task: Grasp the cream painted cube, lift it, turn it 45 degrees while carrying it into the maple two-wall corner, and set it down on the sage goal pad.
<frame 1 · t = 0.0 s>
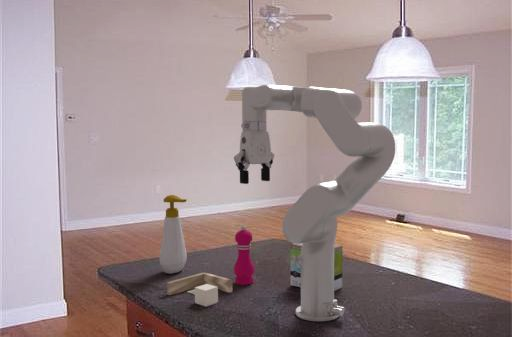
hand: (255, 182, 168), 37 cm above the kitchen island, tool pointing down, fingers open, 9 cm apart
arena: (201, 293, 176), on the kitchen island
cube: (206, 303, 167), on the kitchen island
tea box: (316, 287, 181), on the kitchen island
pepper mill: (244, 283, 188), on the kitchen island
soap bottle: (175, 272, 202), on the kitchen island
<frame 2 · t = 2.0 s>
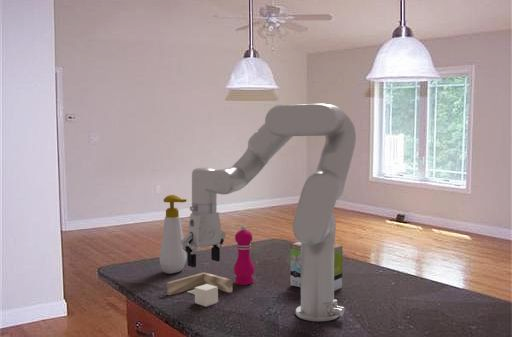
hand: (203, 263, 166), 12 cm above the kitchen island, tool pointing down, fingers open, 9 cm apart
nothing on the kitchen island moved.
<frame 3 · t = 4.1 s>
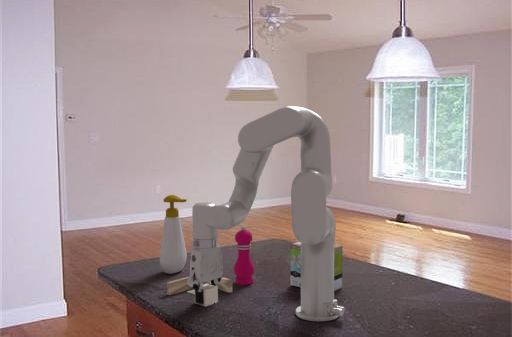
hand: (206, 300, 167), 1 cm above the kitchen island, tool pointing down, fingers closed on cube, 5 cm apart
cube: (206, 302, 167), on the kitchen island, touching gripper
everything else where it was.
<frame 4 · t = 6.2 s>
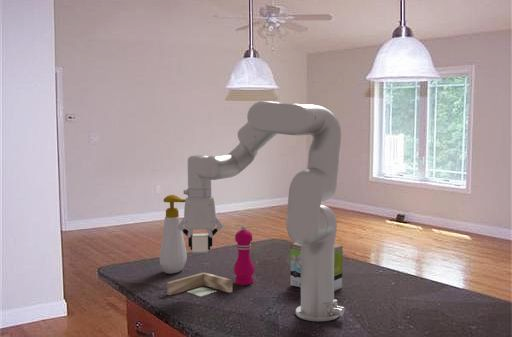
hand: (200, 248, 176), 15 cm above the kitchen island, tool pointing down, fingers closed on cube, 5 cm apart
cube: (200, 250, 176), point 14 cm above the kitchen island, touching gripper
everything else where it was.
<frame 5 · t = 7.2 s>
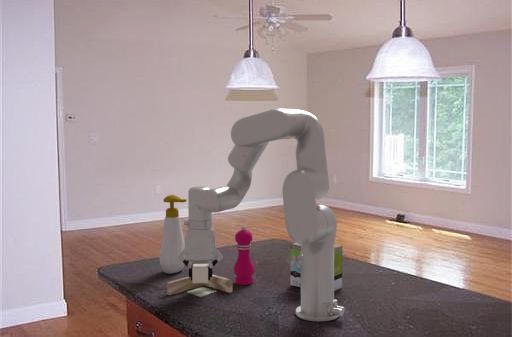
hand: (200, 278, 177), 4 cm above the kitchen island, tool pointing down, fingers closed on cube, 5 cm apart
cube: (200, 280, 177), point 4 cm above the kitchen island, touching gripper
everything else where it was.
when the fingers open (2 cm above the kitchen island, at t = 8.3 s): cube drops 1 cm, resting on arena.
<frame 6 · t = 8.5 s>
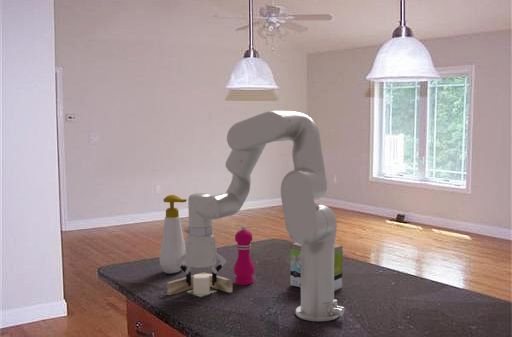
hand: (201, 284, 177), 3 cm above the kitchen island, tool pointing down, fingers open, 7 cm apart
cube: (201, 291, 177), resting on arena
everything else where it was.
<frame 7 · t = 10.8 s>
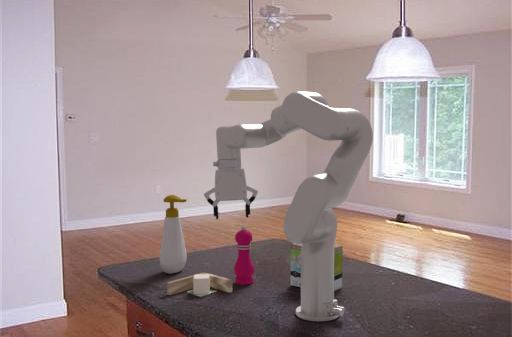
hand: (232, 217, 174), 25 cm above the kitchen island, tool pointing down, fingers open, 9 cm apart
nothing on the kitchen island moved.
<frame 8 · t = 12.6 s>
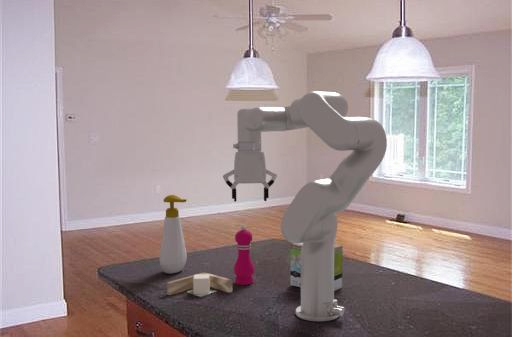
hand: (250, 200, 173), 30 cm above the kitchen island, tool pointing down, fingers open, 9 cm apart
nothing on the kitchen island moved.
at the end: cube 0.0 cm from the target spot on the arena, point 0.3 cm above the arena's base; cube tilted 0°; the gripper is holding nothing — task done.
